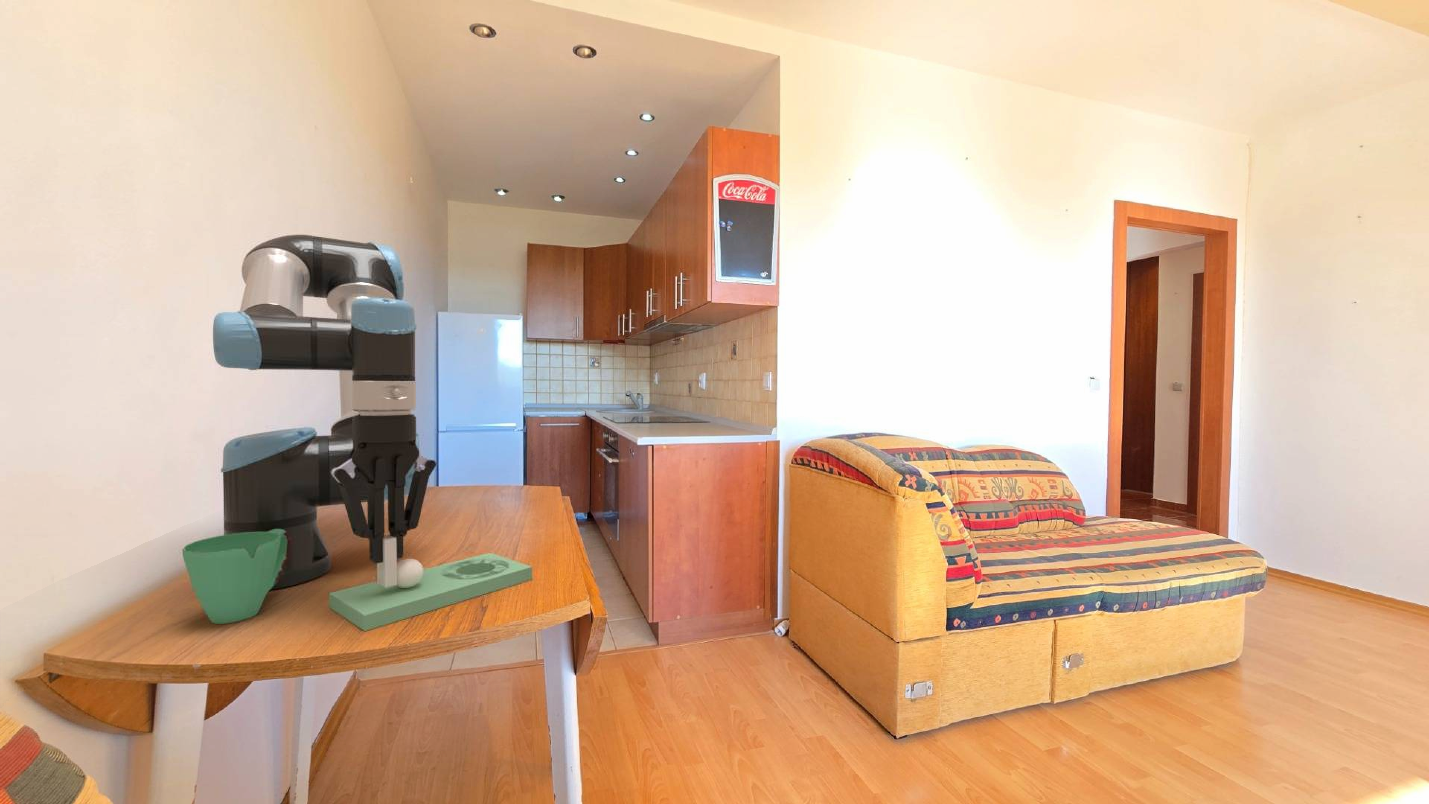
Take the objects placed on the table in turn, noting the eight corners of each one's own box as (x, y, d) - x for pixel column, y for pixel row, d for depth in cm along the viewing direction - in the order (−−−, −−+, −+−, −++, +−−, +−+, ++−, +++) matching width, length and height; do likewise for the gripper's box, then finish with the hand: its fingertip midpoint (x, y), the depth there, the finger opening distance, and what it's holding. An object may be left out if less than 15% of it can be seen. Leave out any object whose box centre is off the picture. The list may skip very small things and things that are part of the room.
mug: (248, 630, 70) (246, 551, 70) (162, 633, 69) (160, 553, 69) (318, 588, 85) (317, 522, 84) (248, 590, 84) (247, 523, 83)
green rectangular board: (364, 631, 70) (364, 615, 70) (329, 607, 77) (328, 593, 77) (532, 579, 89) (531, 566, 89) (490, 564, 96) (490, 552, 96)
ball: (380, 574, 79) (402, 550, 81) (400, 589, 81) (421, 566, 83) (392, 581, 76) (415, 556, 78) (412, 597, 79) (434, 572, 81)
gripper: (340, 415, 69) (342, 604, 70) (445, 412, 80) (447, 577, 80) (319, 413, 74) (322, 590, 75) (421, 410, 84) (423, 566, 85)
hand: (387, 583), depth 78 cm, fingers closed
